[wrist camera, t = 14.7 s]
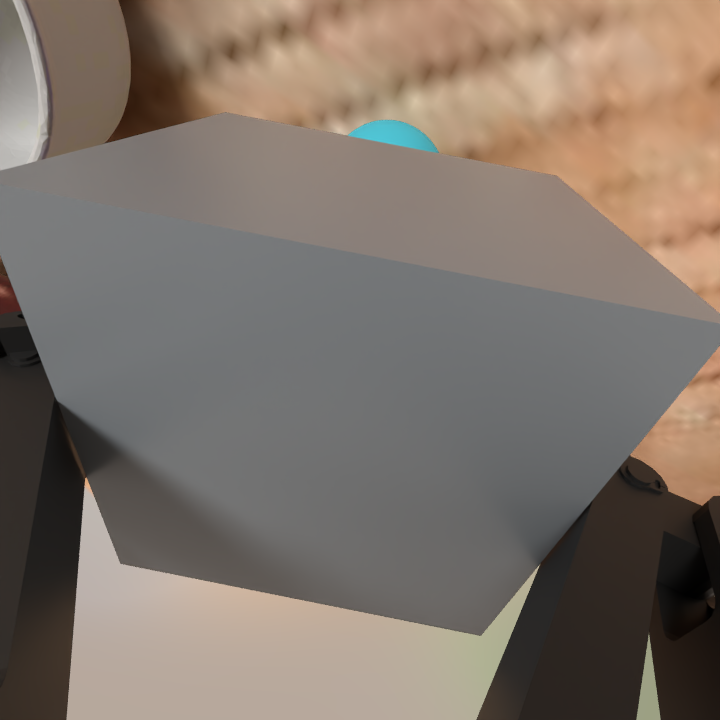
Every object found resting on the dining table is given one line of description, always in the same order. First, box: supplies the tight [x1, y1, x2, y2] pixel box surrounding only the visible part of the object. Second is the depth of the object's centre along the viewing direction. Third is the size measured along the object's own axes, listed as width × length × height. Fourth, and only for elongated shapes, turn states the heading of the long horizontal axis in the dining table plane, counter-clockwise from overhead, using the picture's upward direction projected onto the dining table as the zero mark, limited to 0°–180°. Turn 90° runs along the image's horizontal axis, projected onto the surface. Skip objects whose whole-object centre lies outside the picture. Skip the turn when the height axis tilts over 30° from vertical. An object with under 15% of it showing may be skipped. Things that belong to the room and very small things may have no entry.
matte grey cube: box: [0, 112, 720, 636], centre depth 12 cm, size 10×10×9 cm
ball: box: [348, 120, 439, 153], centre depth 17 cm, size 5×5×5 cm
